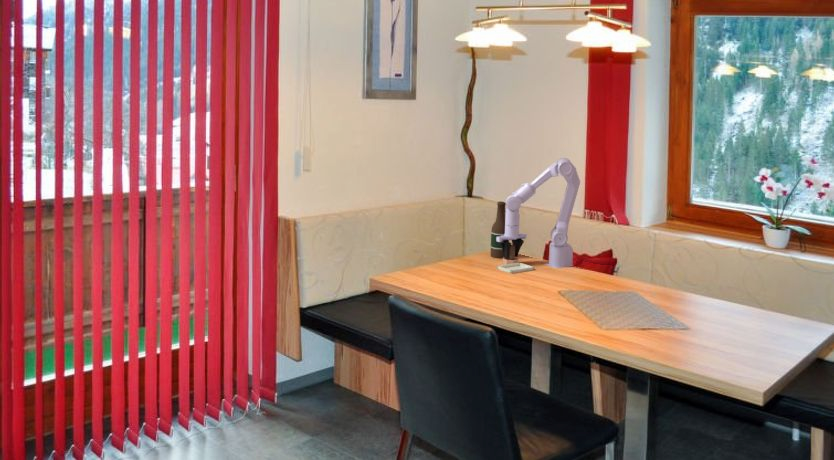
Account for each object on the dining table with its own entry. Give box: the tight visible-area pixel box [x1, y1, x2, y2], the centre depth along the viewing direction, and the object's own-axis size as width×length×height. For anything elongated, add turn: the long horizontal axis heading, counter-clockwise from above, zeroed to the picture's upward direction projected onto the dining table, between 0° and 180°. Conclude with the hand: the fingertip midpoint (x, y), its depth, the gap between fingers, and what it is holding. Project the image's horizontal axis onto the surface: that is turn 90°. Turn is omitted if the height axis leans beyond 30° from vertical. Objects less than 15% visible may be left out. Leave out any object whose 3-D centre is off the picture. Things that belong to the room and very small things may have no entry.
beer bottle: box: [490, 201, 506, 260], centre depth 374 cm, size 8×8×24 cm
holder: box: [502, 257, 520, 265], centre depth 364 cm, size 6×6×2 cm
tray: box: [496, 262, 535, 274], centre depth 354 cm, size 12×9×2 cm
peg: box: [507, 244, 515, 260], centre depth 364 cm, size 3×3×8 cm
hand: (510, 257), depth 364 cm, fingers open, 4 cm apart
